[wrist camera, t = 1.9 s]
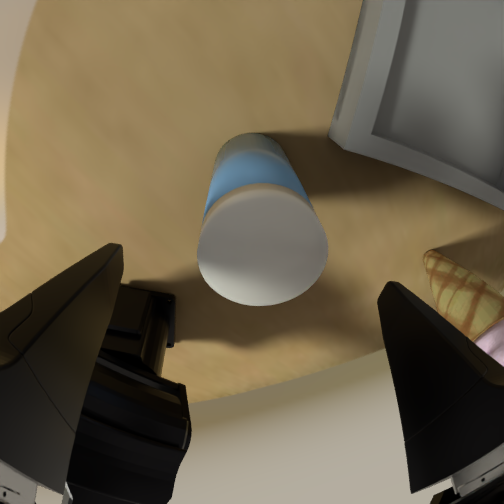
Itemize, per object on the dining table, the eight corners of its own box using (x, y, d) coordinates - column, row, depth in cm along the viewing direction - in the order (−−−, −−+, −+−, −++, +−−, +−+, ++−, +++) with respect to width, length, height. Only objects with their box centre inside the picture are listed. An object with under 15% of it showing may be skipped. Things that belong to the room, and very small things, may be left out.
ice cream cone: (459, 268, 23) (540, 397, 11) (405, 299, 25) (471, 444, 13) (451, 213, 20) (569, 357, 8) (389, 249, 22) (484, 424, 9)
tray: (490, 197, 19) (511, 214, 17) (327, 136, 17) (343, 149, 14) (534, 23, 9) (558, 26, 7) (380, -90, 7) (400, -105, 4)
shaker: (278, 206, 19) (305, 310, 12) (209, 195, 19) (192, 298, 11) (295, 141, 17) (346, 212, 9) (221, 127, 16) (206, 187, 9)
